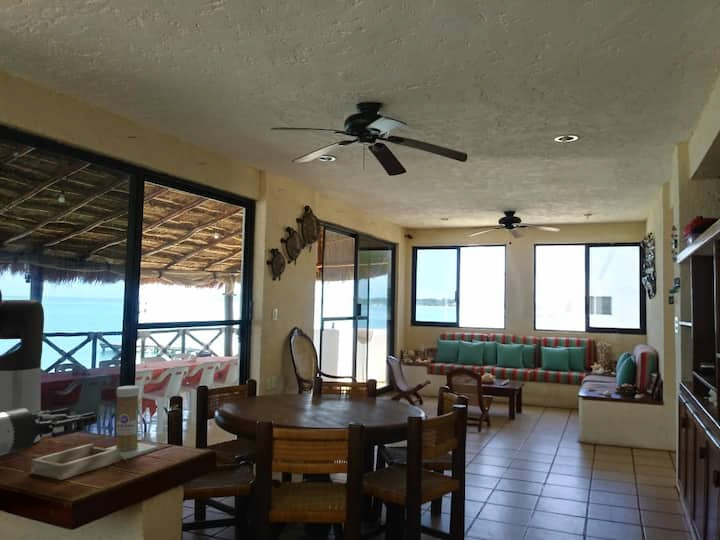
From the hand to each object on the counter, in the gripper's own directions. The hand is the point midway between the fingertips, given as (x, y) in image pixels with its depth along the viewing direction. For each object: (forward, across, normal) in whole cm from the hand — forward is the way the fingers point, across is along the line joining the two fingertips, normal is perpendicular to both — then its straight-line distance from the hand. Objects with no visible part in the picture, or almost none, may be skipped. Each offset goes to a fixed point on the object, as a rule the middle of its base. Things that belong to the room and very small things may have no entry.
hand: (82, 415), depth 115 cm
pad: (+11, 0, +10) cm, 15 cm away
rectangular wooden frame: (-1, 0, +10) cm, 10 cm away
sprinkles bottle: (+11, 0, +10) cm, 15 cm away
